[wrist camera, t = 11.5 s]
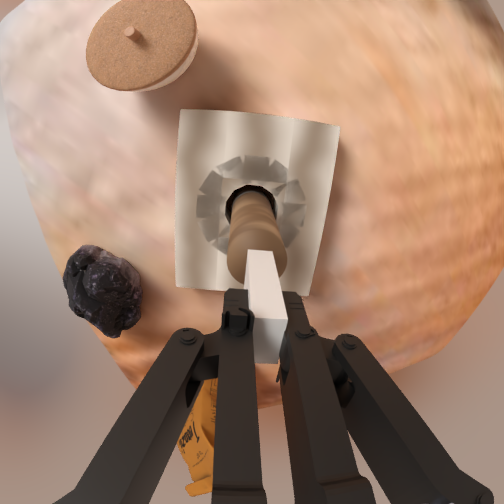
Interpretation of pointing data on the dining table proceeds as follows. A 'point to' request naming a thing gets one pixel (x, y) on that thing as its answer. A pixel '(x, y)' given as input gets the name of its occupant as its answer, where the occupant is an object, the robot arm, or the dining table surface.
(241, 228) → the peg
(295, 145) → the board
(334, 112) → the dining table surface
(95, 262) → the crystal cluster
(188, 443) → the coffee package
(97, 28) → the lidded jar
